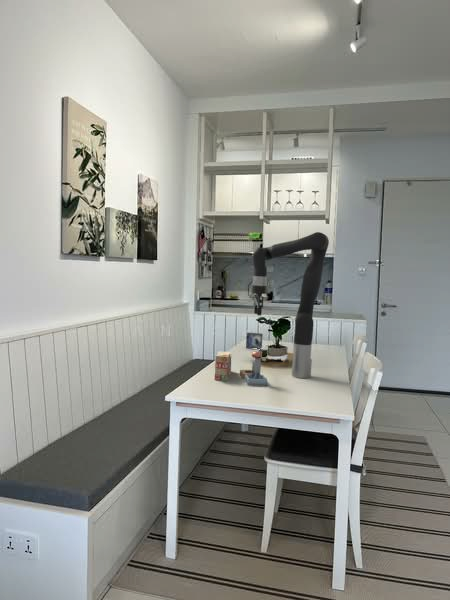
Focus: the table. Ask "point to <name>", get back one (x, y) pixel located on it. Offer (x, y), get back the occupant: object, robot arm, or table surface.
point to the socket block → (243, 372)
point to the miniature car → (263, 351)
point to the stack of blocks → (222, 366)
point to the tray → (256, 380)
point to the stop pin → (256, 365)
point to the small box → (254, 340)
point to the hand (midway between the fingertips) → (257, 314)
